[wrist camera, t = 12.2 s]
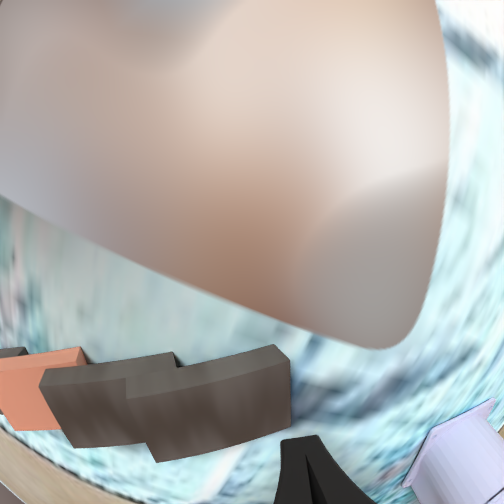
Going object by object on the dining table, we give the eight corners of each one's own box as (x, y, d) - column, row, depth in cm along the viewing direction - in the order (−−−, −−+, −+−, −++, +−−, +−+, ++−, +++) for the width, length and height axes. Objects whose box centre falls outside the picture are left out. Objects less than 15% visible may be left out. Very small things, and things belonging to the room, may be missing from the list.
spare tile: (107, 424, 12) (14, 430, 10) (107, 407, 14) (20, 415, 11) (75, 361, 11) (-20, 372, 9) (80, 346, 13) (-11, 359, 10)
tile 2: (195, 433, 13) (74, 448, 10) (189, 414, 14) (76, 429, 12) (177, 369, 12) (38, 386, 9) (172, 351, 13) (45, 368, 11)
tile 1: (290, 426, 13) (156, 463, 10) (277, 409, 14) (152, 440, 12) (289, 360, 12) (125, 399, 9) (273, 344, 13) (125, 377, 11)
